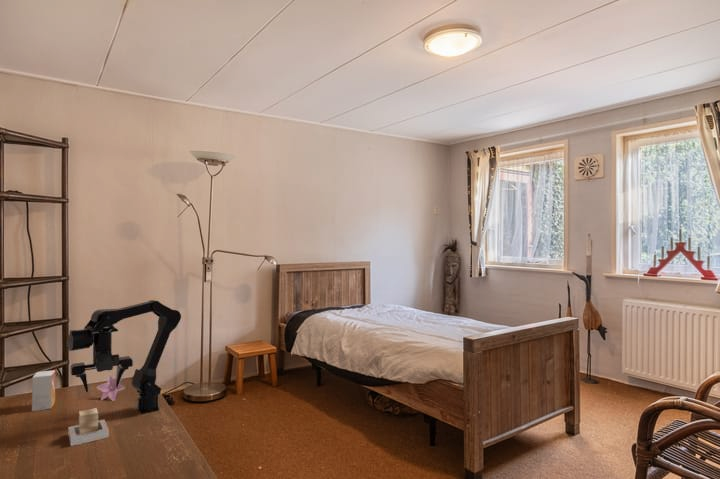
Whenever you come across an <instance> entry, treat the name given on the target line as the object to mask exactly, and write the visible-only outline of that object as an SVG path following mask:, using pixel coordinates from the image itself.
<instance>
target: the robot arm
mask: <svg viewBox="0 0 720 479" xmlns="http://www.w3.org/2000/svg"><path fill="white" fill-rule="evenodd" d="M151 312H152V313H153V314H154V315H155V316H156V317H158V320H157V332H156V334H155V337H154V339H153V341H152V344H151V347H150V349H149V351H148V354H147V357H146V359H145V360H144V363H143V366H142V367H141V368H140V369H138V368H136V369H135V370H134V375H133V376H132V378H131V385H132V388H133V389H134V390H136V392H137V393H138V397H137V398H136V399H137V400H136V402H137V403H136V409H137V411H139V413H140V414H147V413H150V412H156V411H159V410H160V407H159V395H160V394H161V392H162V388H161V387H160V386H158V385H157V384H156V381H157V368H158V365H159V363H160V360H161V358H162V355H163V353H164V350H165V349H166V348H165V347H166V345H167V343H168V341H169V340H168V339H170V335H171V333H172V332H174V330H175V329H176V328H177V327H178V325H179V323H180V322H181V319H182V314H181V313H180V311H179V310H176V309H172V308H170V307H169V306H166V305H165V304H163V303H161V302H160V301H159V300H154V299H150V300H148V301H144V302H140V303H137V304H133V305H127V306H124V307H119V308H106V309H105V308H104V309H97V310H95V311H93V313H92V314H91V317H90V320H89V321H88V322H87V323H86V325H85V326H84V328H83V329H72V330H70V331H69V334H68V336H67V339H66V345H67V349H68V351H69V352H72V351H79V350H83V349H89V348H91V347H92V363H89V364H85V362H77V363H72V364H70V368H69V369H70V370H69V371H70V375H71V376H75V377H76V378H80V380H81V381H82V384H83V387H84V390H85V392H86V393H88V392H89V386H88V380H87V373H86V371H90V370H96V372H98V373H100V372H101V373H102V372H104V371H105V372H106V371H112V370H113V368H114V367H116V366H117V367H116V377H115V378H116V387H118V385H119V382H120V379H121V377H122V374H123V375H124V372H126V370H129V368H132V367H133V366H134V364H133V363H134V361H133V359H132V358H131V357H130V356H129V355H126V356H121V357H120V355H119V354H118V353H117V354H112V353H113V352H112V347H113V346H112V343H113V342H112V340H113V339H112V338H113V336H112V335H113V334H112V333H114V332H115V333H116V332H119V329H118V328H116V327H115V326H114V325H115V324H117V323H119V322H120V321H122V320H125V319H129V318H132V317H133V318H134V317H136V316H140V315H144V314H147V313H151ZM122 378H123V377H122ZM121 380H122V379H121ZM120 383H121V382H120Z"/></svg>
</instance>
